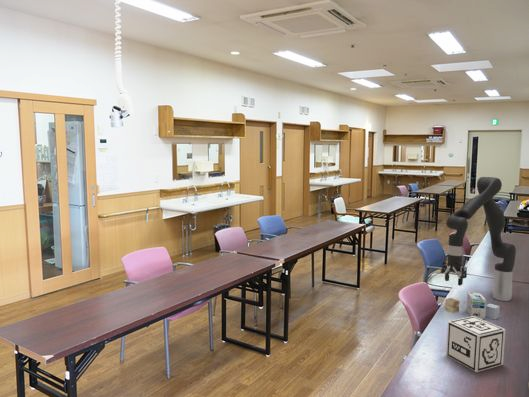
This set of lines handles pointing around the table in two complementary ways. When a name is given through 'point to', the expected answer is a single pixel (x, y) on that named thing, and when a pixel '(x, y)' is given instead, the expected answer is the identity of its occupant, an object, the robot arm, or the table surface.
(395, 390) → the table surface
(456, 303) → the maple block
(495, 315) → the grey-blue block
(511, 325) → the table surface
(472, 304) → the light bulb box
